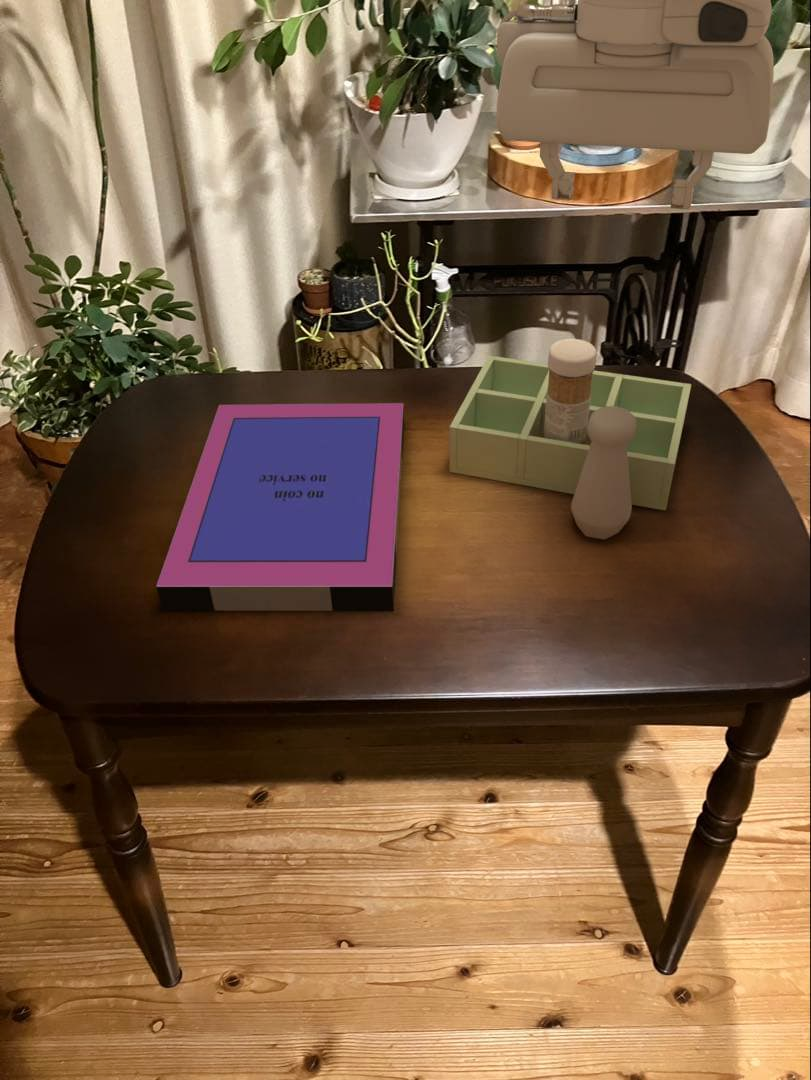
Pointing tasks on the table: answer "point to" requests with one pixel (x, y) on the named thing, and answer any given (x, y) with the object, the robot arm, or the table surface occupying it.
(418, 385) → the table surface
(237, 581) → the book
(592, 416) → the salt shaker
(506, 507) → the table surface
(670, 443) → the rack
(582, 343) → the sprinkles bottle
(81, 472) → the table surface
